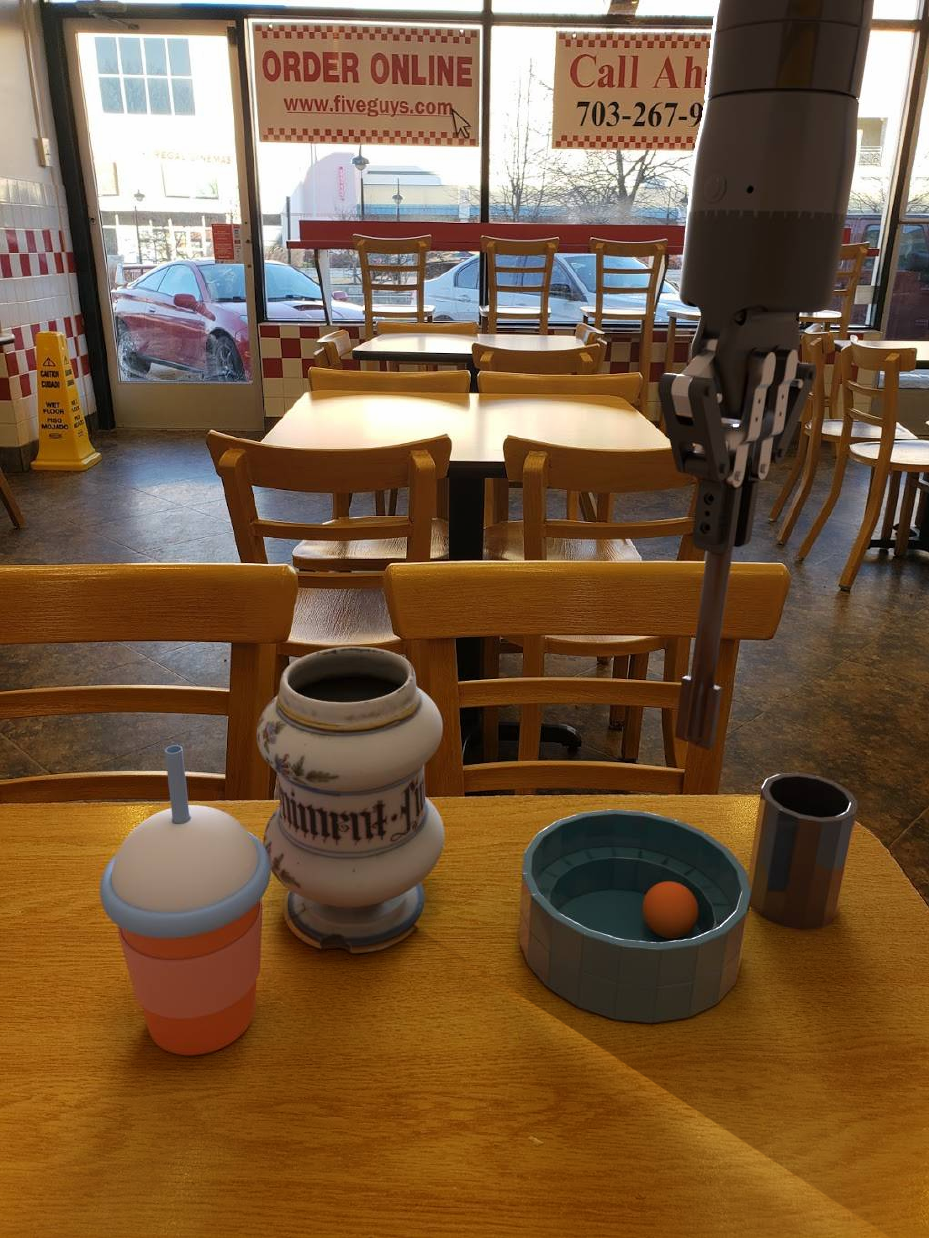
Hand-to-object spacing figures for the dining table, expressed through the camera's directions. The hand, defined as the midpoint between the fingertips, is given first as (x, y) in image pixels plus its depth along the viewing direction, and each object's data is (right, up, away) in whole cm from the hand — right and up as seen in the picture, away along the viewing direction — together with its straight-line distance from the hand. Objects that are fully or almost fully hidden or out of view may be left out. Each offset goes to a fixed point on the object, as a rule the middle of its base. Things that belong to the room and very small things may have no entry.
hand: (720, 545), depth 52 cm
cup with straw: (-30, -28, +4) cm, 41 cm away
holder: (+9, -24, +14) cm, 29 cm away
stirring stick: (0, -12, +5) cm, 12 cm away
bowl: (-4, -26, +10) cm, 28 cm away
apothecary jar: (-22, -24, +13) cm, 35 cm away
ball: (-1, -23, +10) cm, 25 cm away
